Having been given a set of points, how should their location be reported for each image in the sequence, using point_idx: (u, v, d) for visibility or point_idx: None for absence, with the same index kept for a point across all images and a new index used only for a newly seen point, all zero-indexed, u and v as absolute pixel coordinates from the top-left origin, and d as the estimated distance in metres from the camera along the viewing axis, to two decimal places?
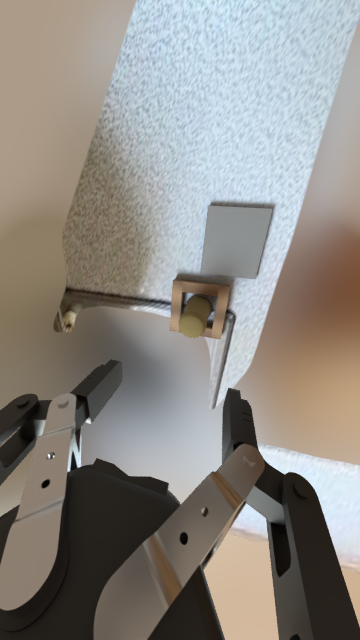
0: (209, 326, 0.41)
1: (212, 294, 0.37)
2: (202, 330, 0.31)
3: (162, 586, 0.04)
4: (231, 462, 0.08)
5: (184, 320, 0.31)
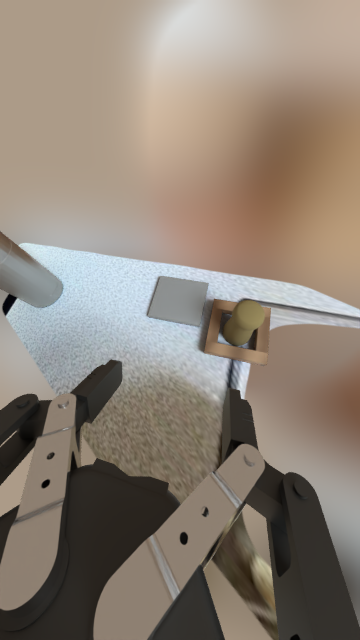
0: None
1: (220, 313, 0.38)
2: (253, 301, 0.29)
3: (162, 586, 0.04)
4: (231, 462, 0.08)
5: (242, 318, 0.28)
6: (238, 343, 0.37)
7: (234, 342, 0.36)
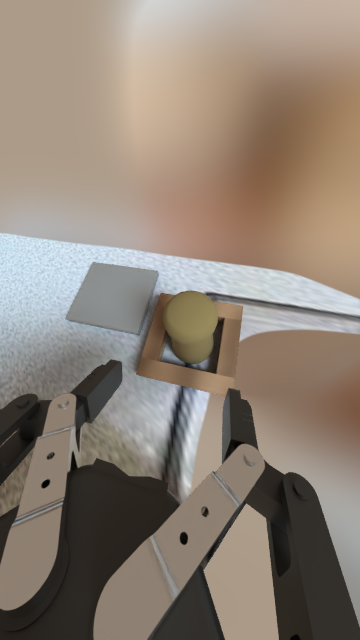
0: (223, 325, 0.25)
1: None
2: (198, 292, 0.16)
3: (162, 586, 0.04)
4: (231, 462, 0.08)
5: (173, 323, 0.15)
6: (192, 361, 0.23)
7: (185, 359, 0.23)
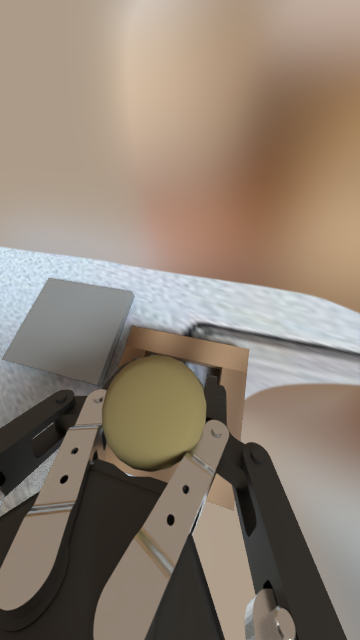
0: (219, 375, 0.17)
1: None
2: (168, 364, 0.09)
3: (158, 570, 0.04)
4: None
5: (114, 437, 0.08)
6: None
7: None
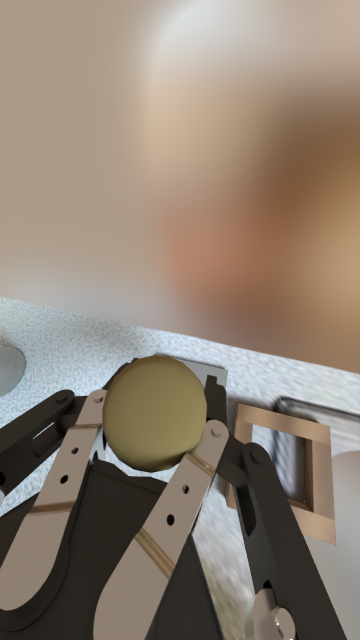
0: (307, 443, 0.25)
1: (249, 432, 0.25)
2: (168, 365, 0.09)
3: (158, 570, 0.04)
4: None
5: (115, 438, 0.08)
6: None
7: None
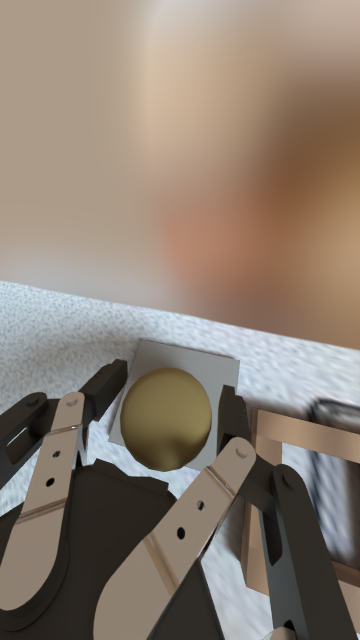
0: None
1: (278, 455, 0.16)
2: (178, 377, 0.10)
3: (161, 582, 0.04)
4: (223, 454, 0.08)
5: (133, 441, 0.09)
6: None
7: None
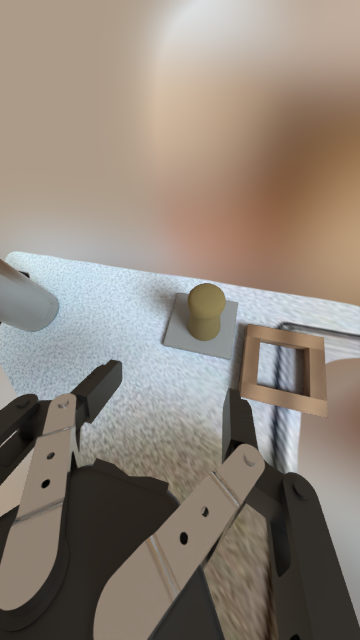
0: (305, 353, 0.30)
1: (257, 344, 0.30)
2: (212, 284, 0.24)
3: (162, 586, 0.04)
4: (231, 462, 0.08)
5: (196, 304, 0.23)
6: (204, 338, 0.31)
7: (199, 337, 0.31)
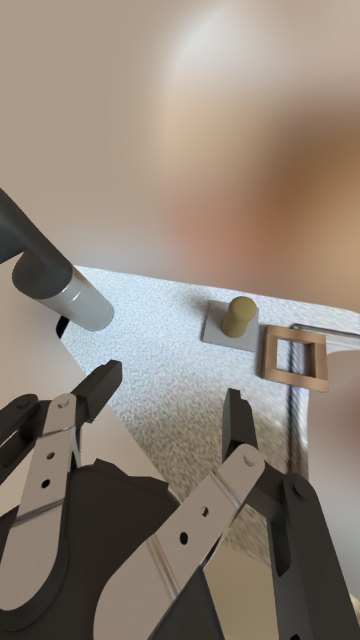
0: (311, 346, 0.40)
1: (276, 340, 0.40)
2: (246, 297, 0.34)
3: (162, 587, 0.04)
4: (231, 462, 0.08)
5: (237, 311, 0.33)
6: (235, 336, 0.41)
7: (231, 335, 0.41)
